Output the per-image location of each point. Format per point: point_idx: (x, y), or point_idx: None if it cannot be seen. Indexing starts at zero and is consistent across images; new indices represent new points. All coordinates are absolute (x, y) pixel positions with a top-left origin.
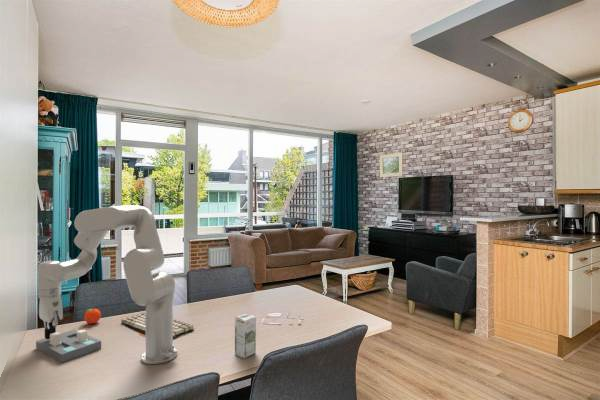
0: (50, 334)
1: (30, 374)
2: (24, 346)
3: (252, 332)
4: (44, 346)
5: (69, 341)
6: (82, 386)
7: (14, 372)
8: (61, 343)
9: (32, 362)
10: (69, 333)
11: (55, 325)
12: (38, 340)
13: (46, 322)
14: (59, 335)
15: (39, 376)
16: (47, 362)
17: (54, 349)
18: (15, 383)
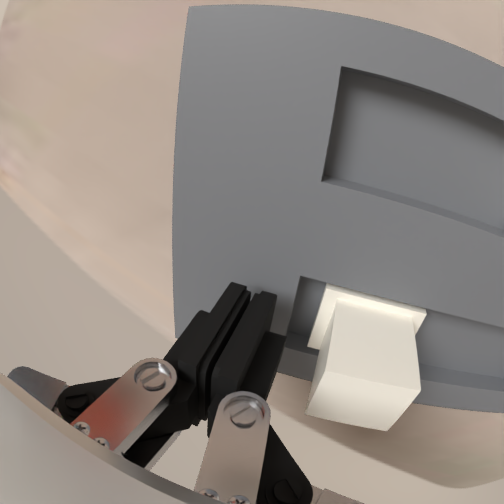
0: (321, 417)
1: (459, 452)
2: (116, 292)
3: None
4: None
5: (488, 282)
6: None
7: (384, 459)
8: (423, 309)
9: None
10: (263, 100)
11: (267, 436)
12: (180, 329)
13: (146, 467)
14: (415, 380)
15: (499, 446)
16: None
17: (467, 404)
18: (450, 476)
